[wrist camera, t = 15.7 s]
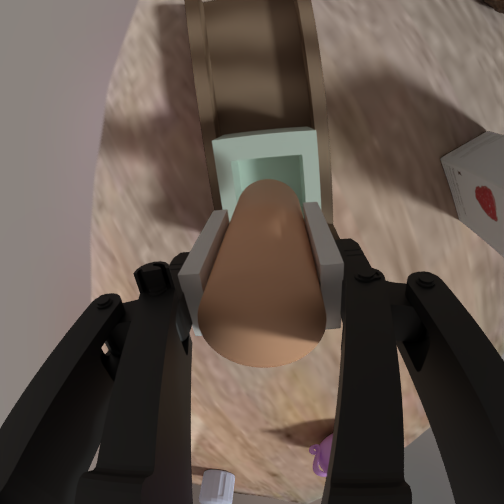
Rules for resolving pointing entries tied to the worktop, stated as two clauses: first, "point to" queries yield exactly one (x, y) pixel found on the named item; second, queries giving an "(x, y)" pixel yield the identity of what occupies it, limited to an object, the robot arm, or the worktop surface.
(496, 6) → the rock
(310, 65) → the brown long open box
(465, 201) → the supplement box
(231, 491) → the soap bottle
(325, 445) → the teapot
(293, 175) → the socket block
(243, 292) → the dowel
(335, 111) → the worktop surface
